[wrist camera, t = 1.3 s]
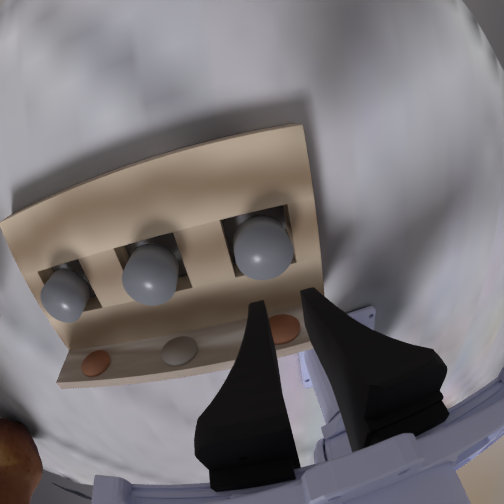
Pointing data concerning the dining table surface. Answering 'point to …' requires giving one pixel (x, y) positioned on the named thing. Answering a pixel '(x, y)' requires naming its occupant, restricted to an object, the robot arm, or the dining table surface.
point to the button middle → (151, 274)
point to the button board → (192, 252)
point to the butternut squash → (18, 463)
